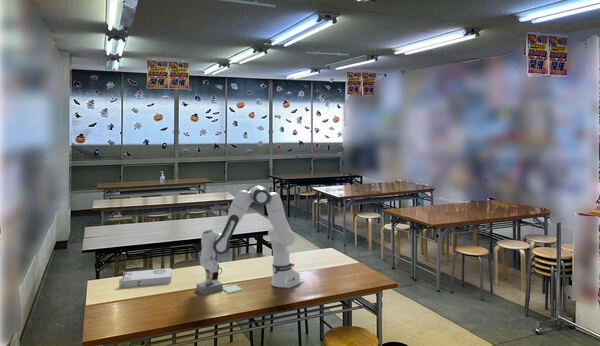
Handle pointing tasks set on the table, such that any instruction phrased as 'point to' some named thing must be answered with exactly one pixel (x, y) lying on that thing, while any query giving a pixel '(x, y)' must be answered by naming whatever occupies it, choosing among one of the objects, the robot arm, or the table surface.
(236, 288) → the mat
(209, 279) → the plug
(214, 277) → the coffee mug
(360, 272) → the table surface
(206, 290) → the gray rectangular block
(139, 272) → the power supply unit
